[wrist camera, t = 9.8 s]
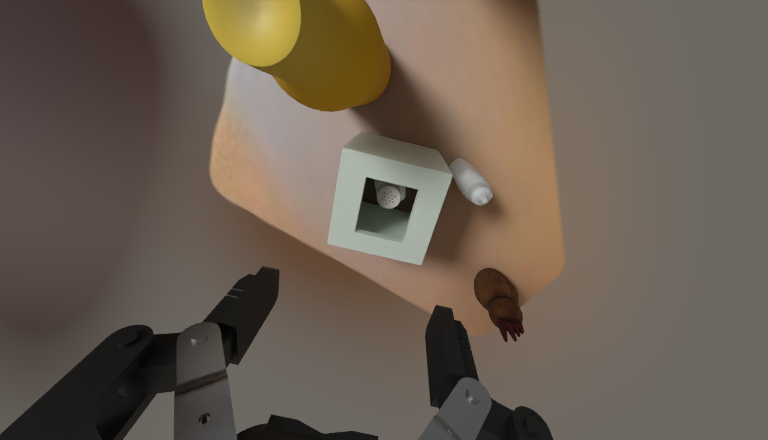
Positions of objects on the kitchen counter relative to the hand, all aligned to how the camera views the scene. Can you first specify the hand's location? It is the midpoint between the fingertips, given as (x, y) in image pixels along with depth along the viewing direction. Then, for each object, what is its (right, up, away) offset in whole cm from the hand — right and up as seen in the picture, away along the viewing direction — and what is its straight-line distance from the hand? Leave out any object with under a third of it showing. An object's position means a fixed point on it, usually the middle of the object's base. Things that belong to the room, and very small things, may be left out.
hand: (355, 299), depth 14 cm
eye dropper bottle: (+14, +11, +29) cm, 34 cm away
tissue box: (+3, +11, +30) cm, 32 cm away
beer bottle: (-2, +25, +24) cm, 35 cm away
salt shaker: (+3, +11, +30) cm, 32 cm away
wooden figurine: (+21, -7, +37) cm, 43 cm away
